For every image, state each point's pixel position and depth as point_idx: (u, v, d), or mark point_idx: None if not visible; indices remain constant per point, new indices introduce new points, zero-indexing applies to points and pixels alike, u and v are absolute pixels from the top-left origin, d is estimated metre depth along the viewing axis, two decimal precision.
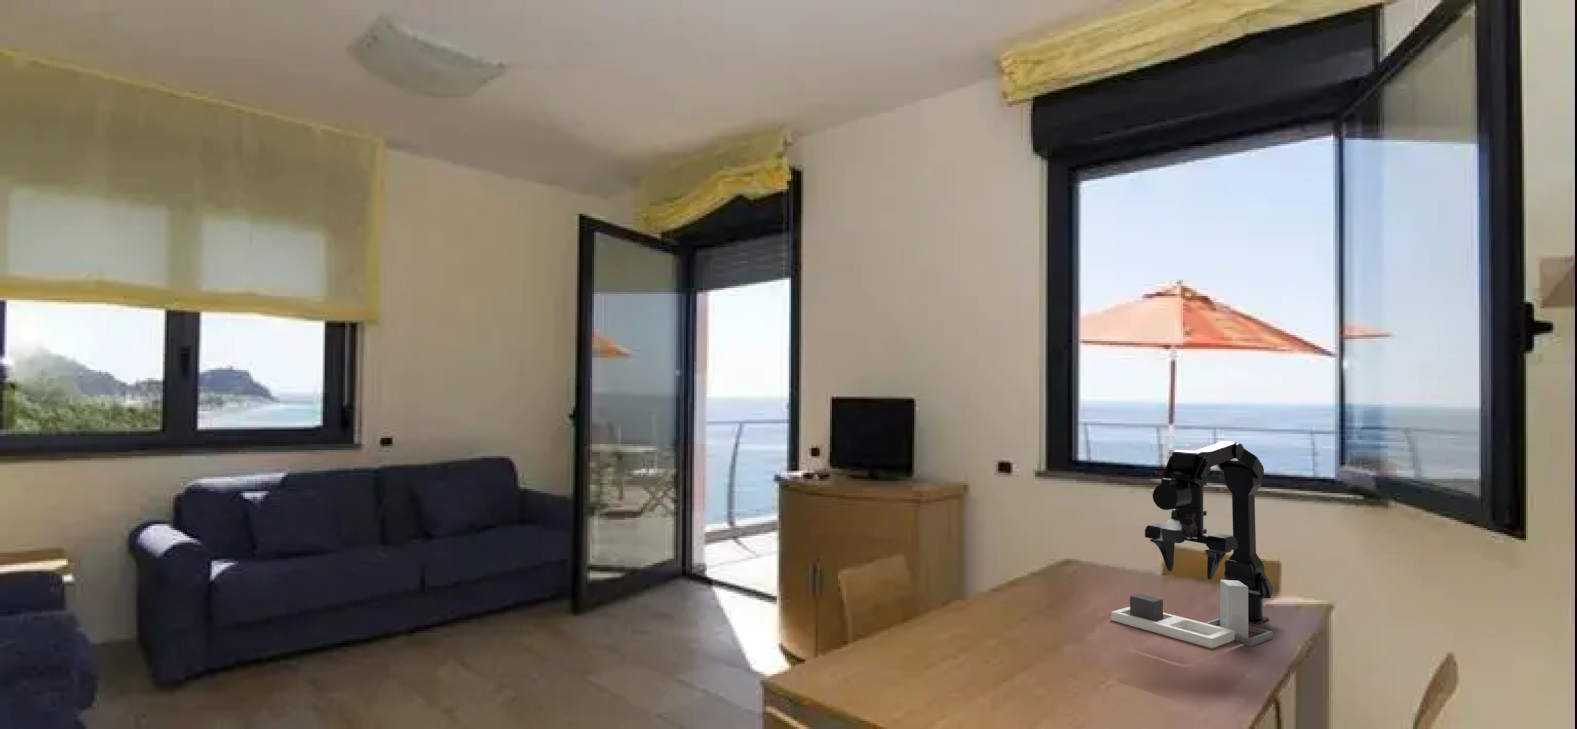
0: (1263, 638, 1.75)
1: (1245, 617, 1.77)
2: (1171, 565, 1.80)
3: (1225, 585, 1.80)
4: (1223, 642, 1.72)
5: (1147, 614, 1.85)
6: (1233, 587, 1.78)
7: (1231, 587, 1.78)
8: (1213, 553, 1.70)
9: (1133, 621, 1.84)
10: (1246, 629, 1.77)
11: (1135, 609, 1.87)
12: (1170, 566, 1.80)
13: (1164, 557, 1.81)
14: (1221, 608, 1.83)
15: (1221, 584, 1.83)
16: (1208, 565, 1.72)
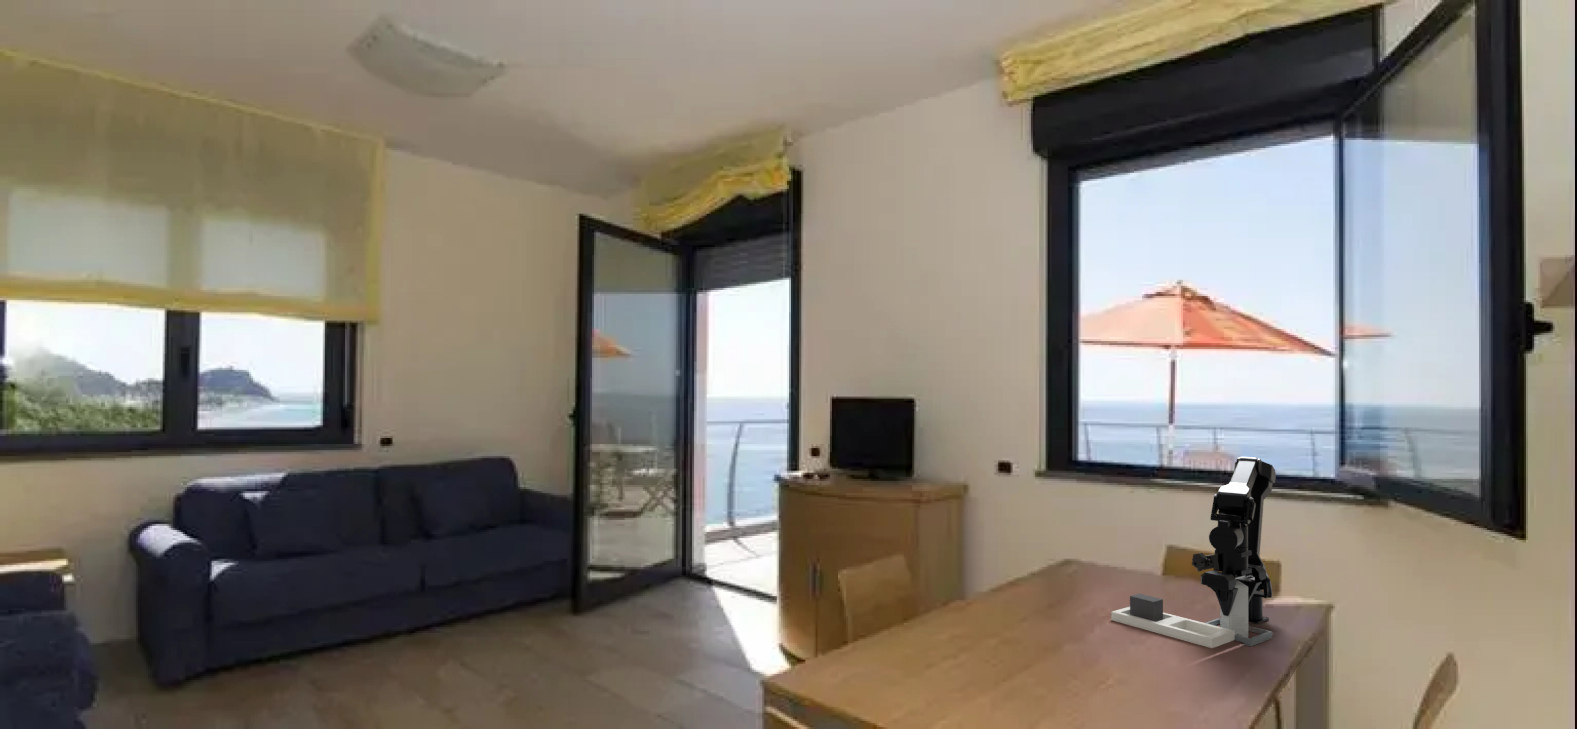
0: (1263, 638, 1.75)
1: (1245, 617, 1.77)
2: None
3: None
4: (1223, 642, 1.72)
5: (1147, 614, 1.85)
6: None
7: None
8: None
9: (1133, 621, 1.84)
10: (1246, 629, 1.77)
11: (1135, 609, 1.87)
12: None
13: None
14: None
15: None
16: None
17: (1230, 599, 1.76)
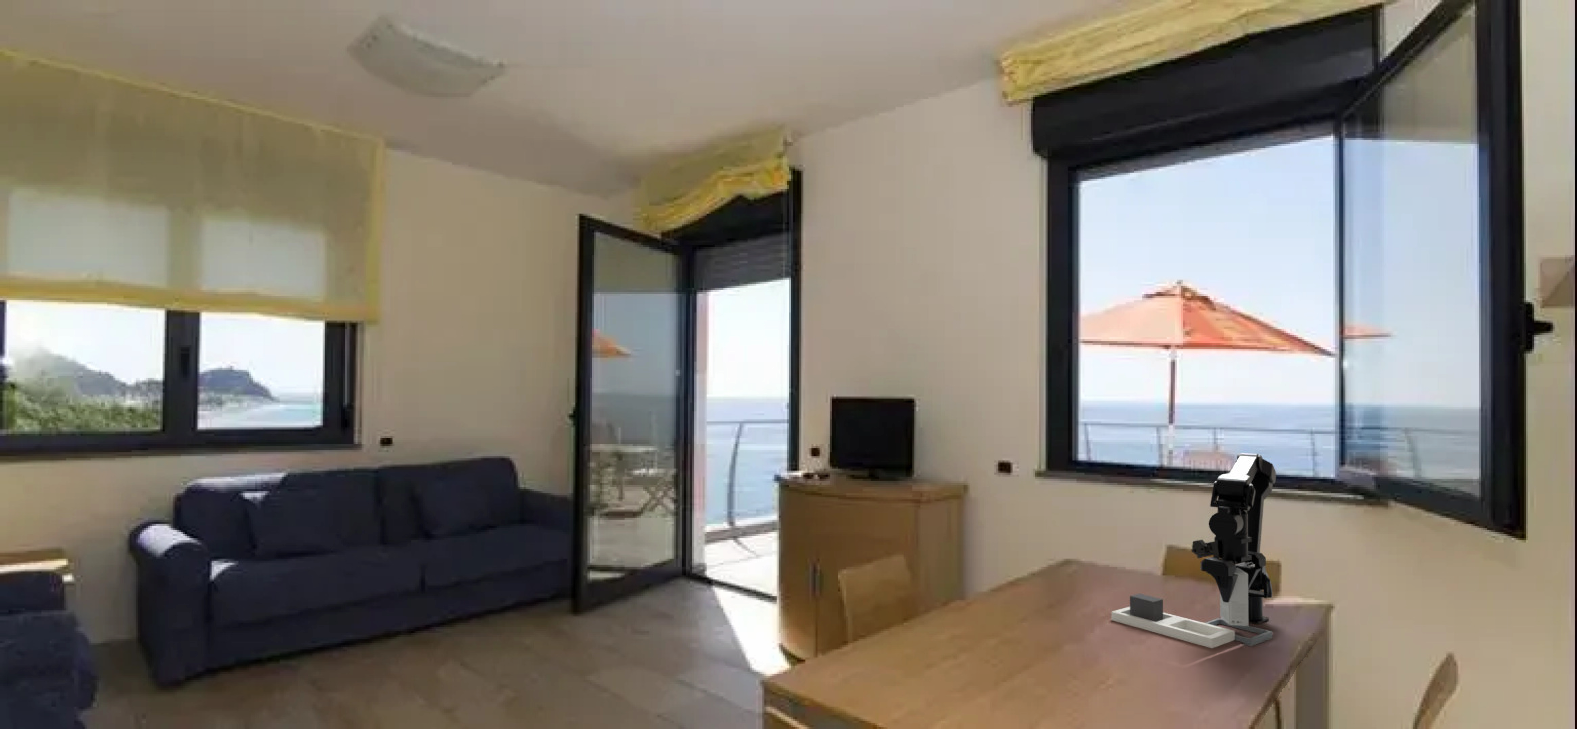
0: (1263, 638, 1.75)
1: (1245, 604, 1.77)
2: None
3: None
4: (1223, 642, 1.72)
5: (1147, 614, 1.85)
6: None
7: None
8: None
9: (1133, 621, 1.84)
10: (1246, 616, 1.77)
11: (1135, 609, 1.87)
12: None
13: None
14: None
15: None
16: None
17: (1230, 585, 1.76)
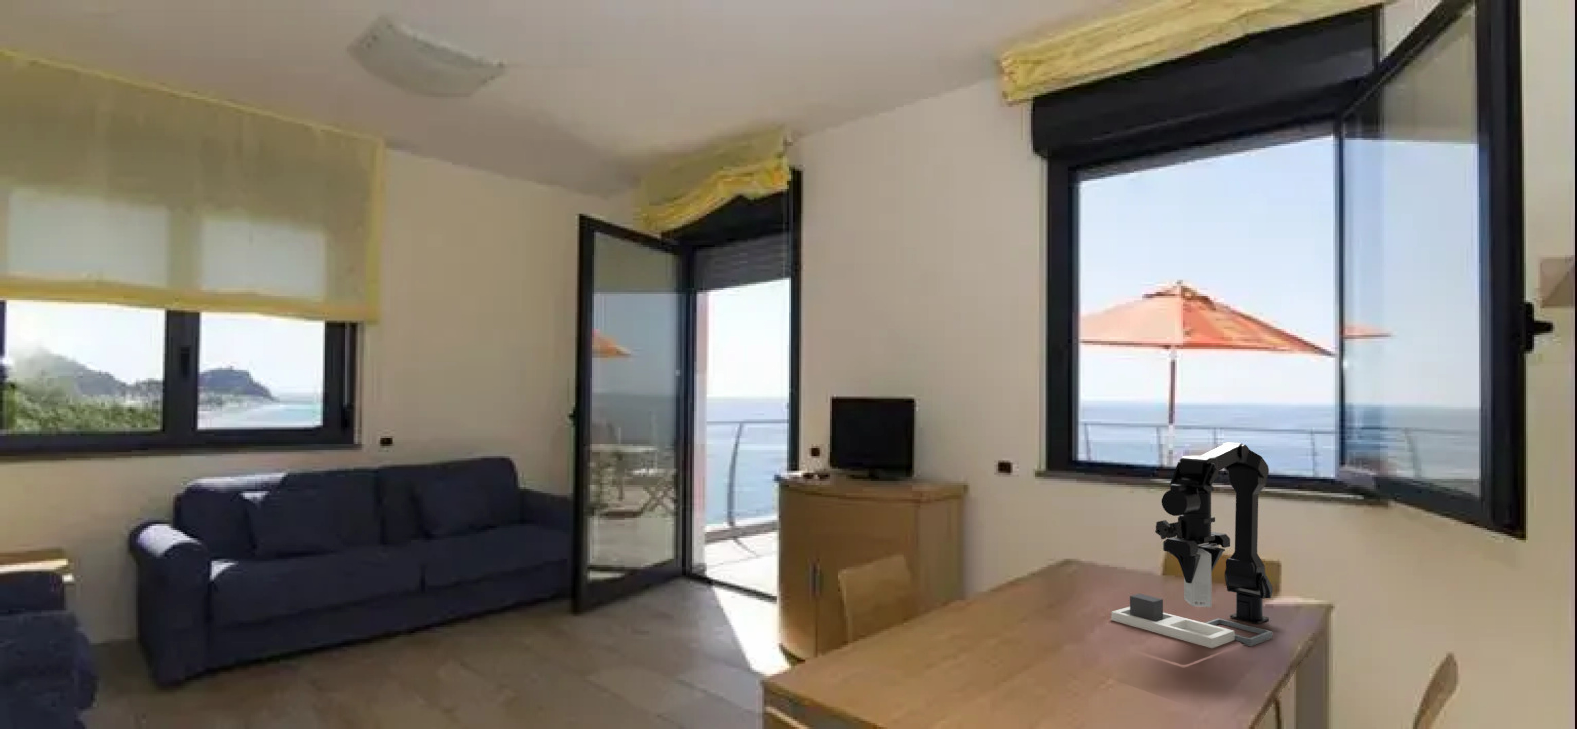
0: (1263, 638, 1.75)
1: (1208, 585, 1.74)
2: None
3: None
4: (1223, 642, 1.72)
5: (1147, 614, 1.85)
6: None
7: None
8: None
9: (1133, 621, 1.84)
10: (1209, 597, 1.74)
11: (1135, 609, 1.87)
12: None
13: None
14: None
15: None
16: None
17: (1192, 566, 1.73)
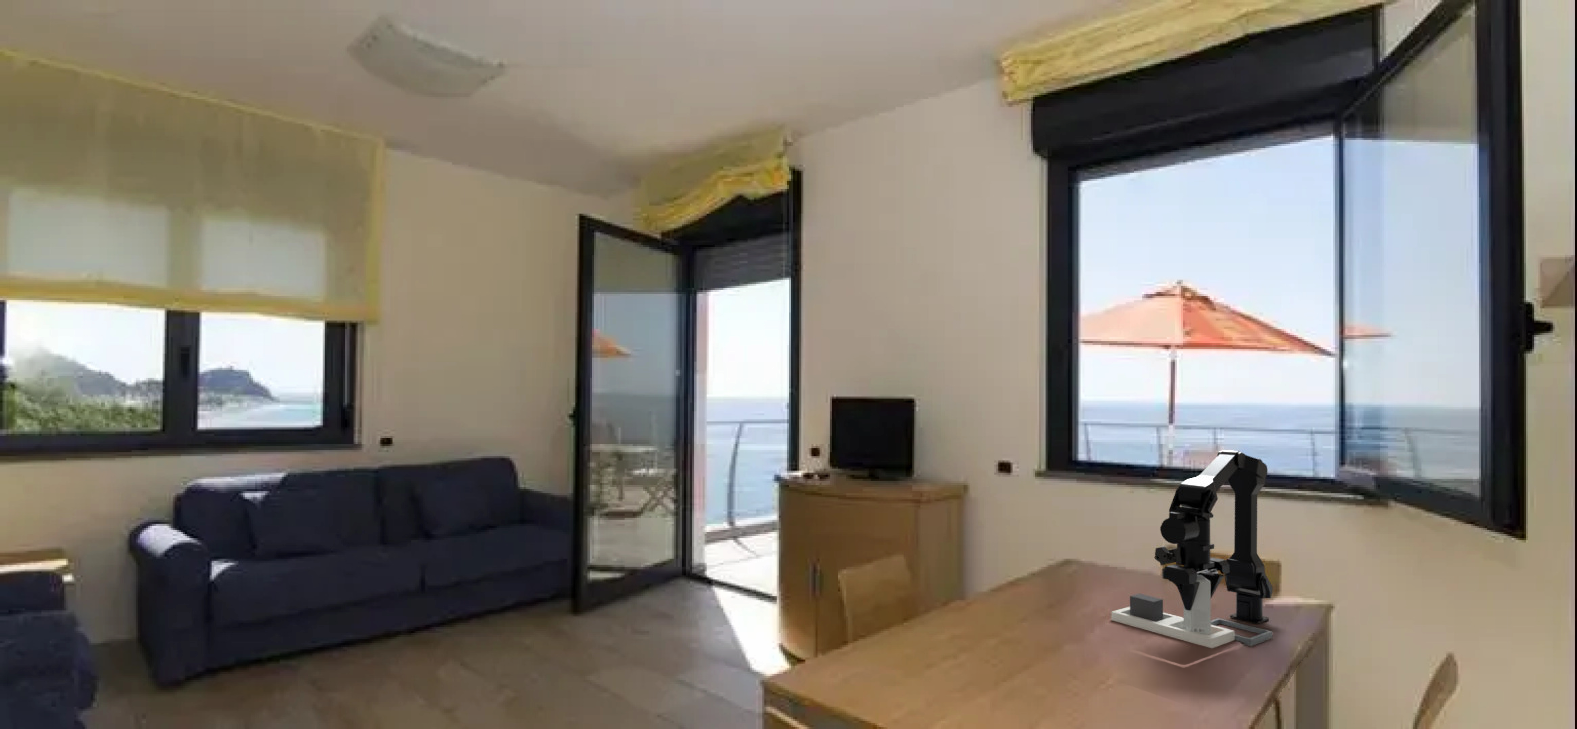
0: (1263, 638, 1.75)
1: (1207, 612, 1.74)
2: None
3: None
4: (1223, 642, 1.72)
5: (1147, 614, 1.85)
6: None
7: None
8: None
9: (1133, 621, 1.84)
10: (1209, 624, 1.74)
11: (1135, 609, 1.87)
12: None
13: None
14: None
15: None
16: None
17: (1192, 593, 1.73)
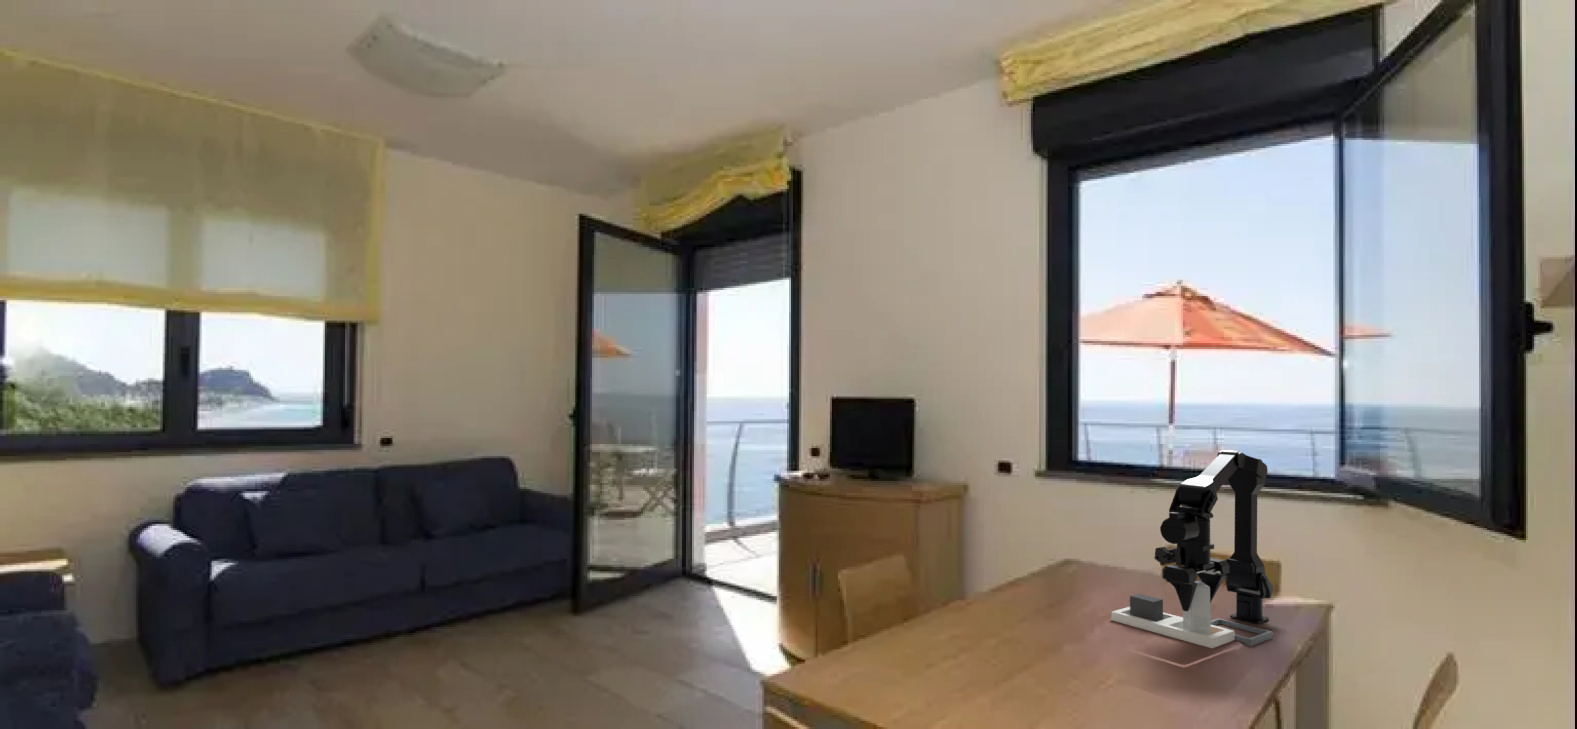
0: (1263, 638, 1.75)
1: (1207, 618, 1.74)
2: None
3: None
4: (1223, 642, 1.72)
5: (1147, 614, 1.85)
6: None
7: None
8: None
9: (1133, 621, 1.84)
10: (1209, 630, 1.74)
11: (1135, 609, 1.87)
12: None
13: None
14: None
15: None
16: None
17: (1189, 594, 1.73)
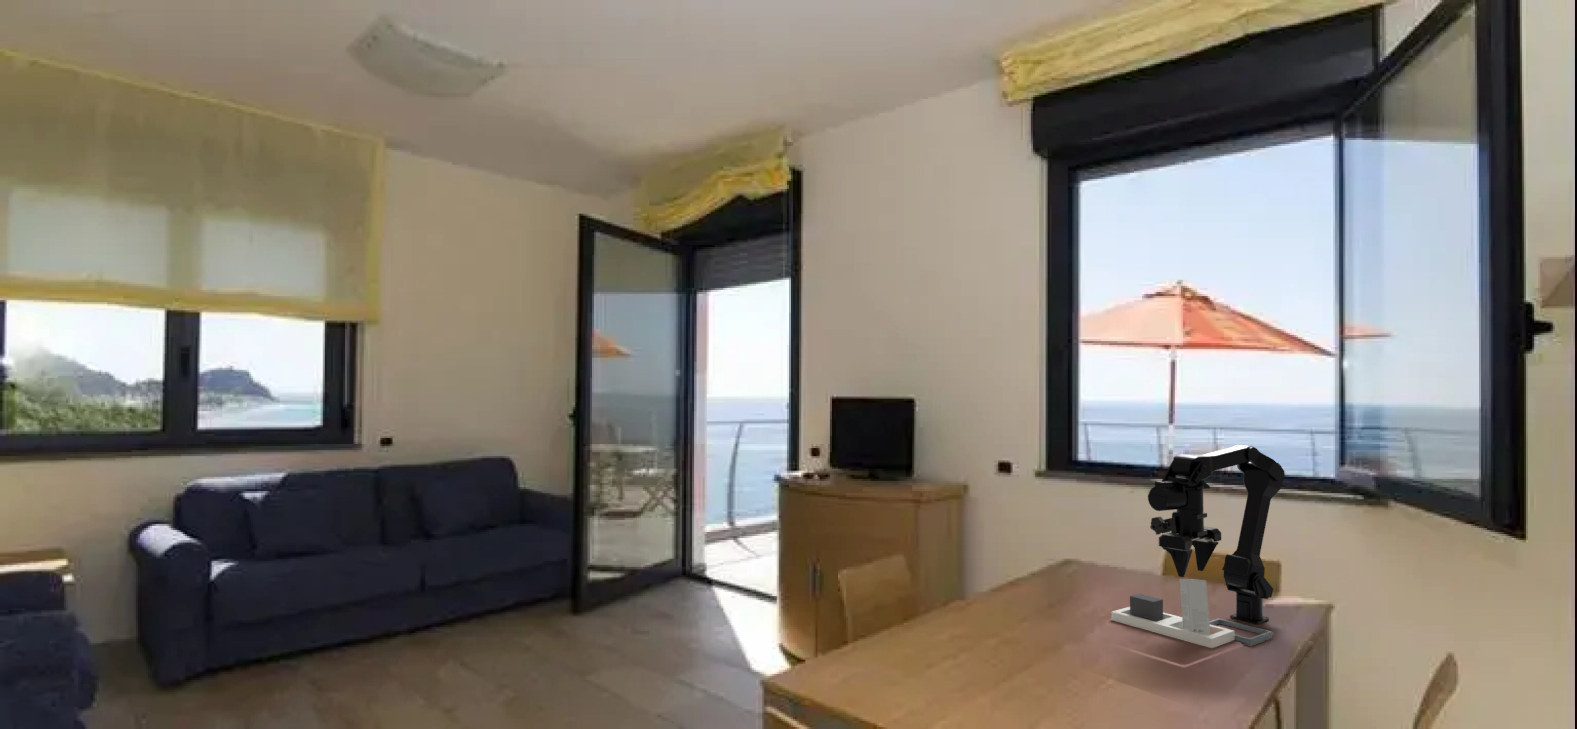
0: (1263, 638, 1.75)
1: (1205, 612, 1.75)
2: (1200, 565, 1.88)
3: (1184, 581, 1.79)
4: (1223, 642, 1.72)
5: (1147, 614, 1.85)
6: (1191, 581, 1.77)
7: (1189, 581, 1.77)
8: None
9: (1133, 621, 1.84)
10: (1207, 624, 1.75)
11: (1135, 609, 1.87)
12: (1199, 566, 1.88)
13: None
14: (1182, 607, 1.81)
15: (1180, 582, 1.82)
16: None
17: (1185, 560, 1.81)
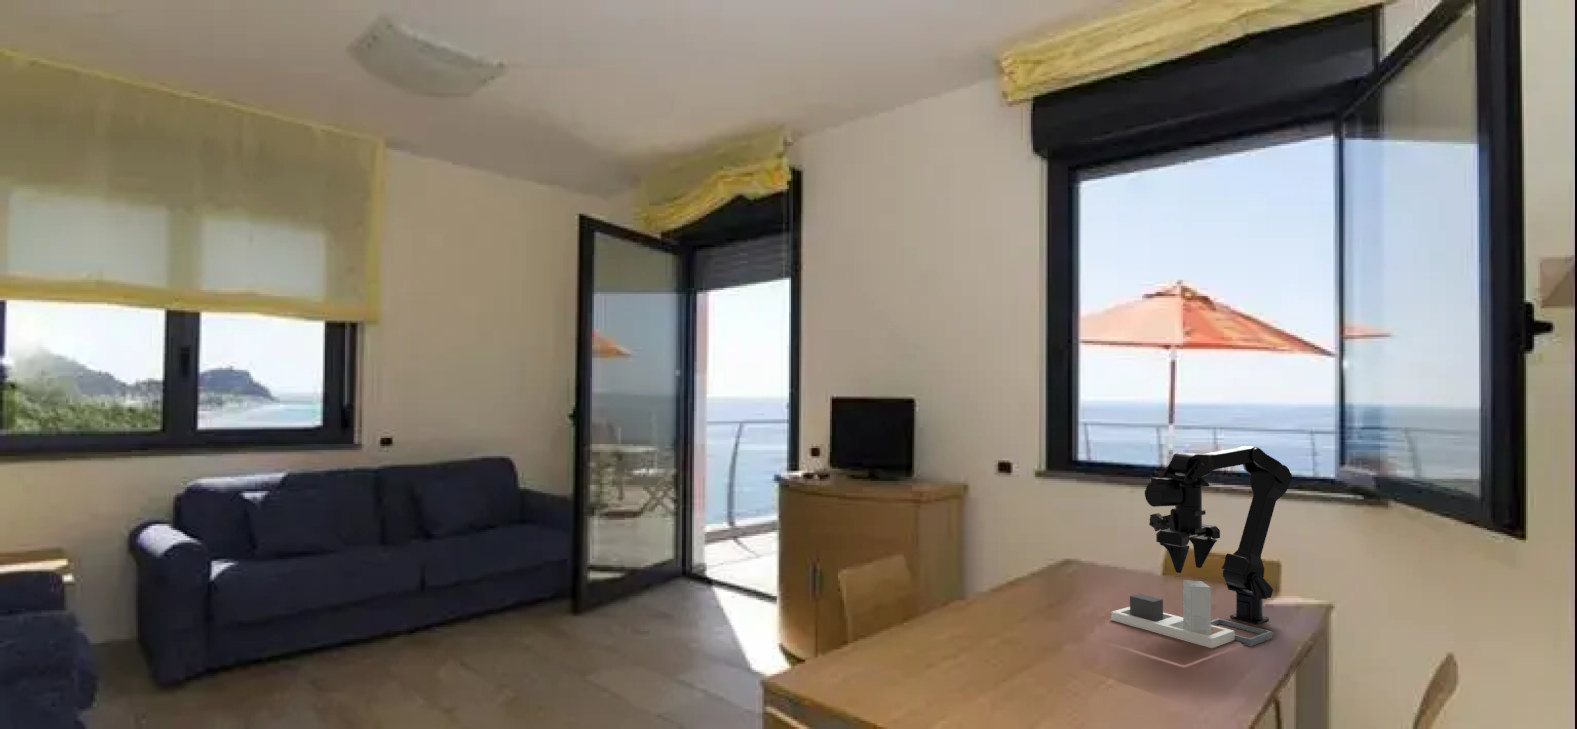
0: (1263, 638, 1.75)
1: (1207, 618, 1.74)
2: (1199, 562, 1.90)
3: (1188, 586, 1.77)
4: (1223, 642, 1.72)
5: (1147, 614, 1.85)
6: (1195, 588, 1.75)
7: (1193, 588, 1.75)
8: None
9: (1133, 621, 1.84)
10: (1208, 630, 1.74)
11: (1135, 609, 1.87)
12: (1197, 563, 1.91)
13: None
14: (1184, 609, 1.80)
15: (1184, 585, 1.80)
16: None
17: (1182, 556, 1.83)
